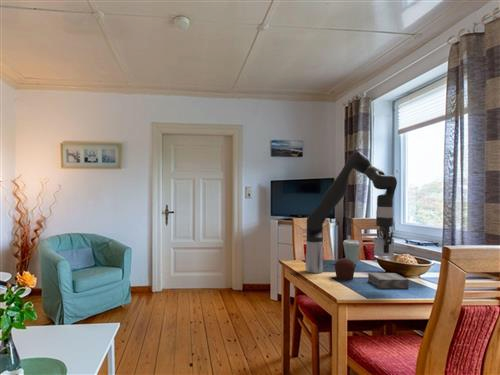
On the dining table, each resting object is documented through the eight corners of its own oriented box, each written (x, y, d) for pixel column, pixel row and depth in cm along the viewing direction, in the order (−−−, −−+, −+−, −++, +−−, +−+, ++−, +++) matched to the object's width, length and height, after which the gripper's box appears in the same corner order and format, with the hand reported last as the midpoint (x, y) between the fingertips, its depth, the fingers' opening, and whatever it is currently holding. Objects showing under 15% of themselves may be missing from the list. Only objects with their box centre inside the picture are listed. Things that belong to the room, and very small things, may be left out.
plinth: (379, 288, 163) (379, 279, 163) (368, 280, 177) (368, 273, 177) (408, 288, 164) (408, 279, 164) (395, 280, 178) (395, 273, 178)
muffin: (331, 275, 190) (331, 256, 190) (352, 275, 190) (352, 257, 190) (337, 280, 178) (337, 260, 178) (358, 280, 178) (358, 261, 178)
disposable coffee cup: (362, 265, 217) (362, 241, 217) (344, 265, 217) (344, 241, 218) (357, 262, 228) (357, 239, 228) (340, 262, 228) (340, 239, 228)
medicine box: (390, 255, 167) (390, 237, 167) (393, 257, 163) (394, 238, 163) (373, 254, 167) (374, 237, 167) (377, 256, 163) (377, 238, 163)
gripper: (371, 215, 173) (371, 249, 172) (382, 217, 158) (381, 254, 158) (386, 215, 173) (386, 249, 172) (398, 217, 158) (398, 254, 158)
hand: (384, 251), depth 165 cm, fingers closed on medicine box, 4 cm apart
